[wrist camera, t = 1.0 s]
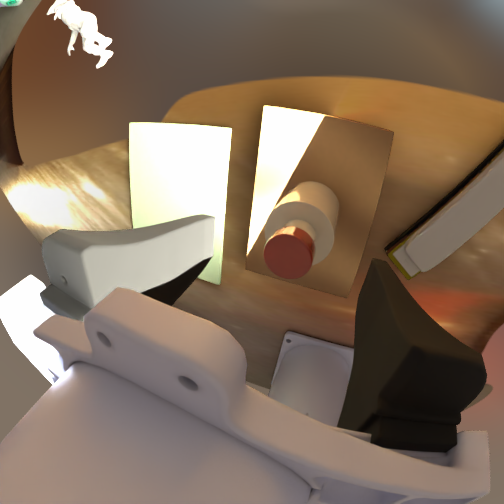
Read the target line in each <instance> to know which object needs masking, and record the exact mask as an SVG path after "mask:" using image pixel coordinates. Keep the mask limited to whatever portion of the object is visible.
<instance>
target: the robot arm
mask: <svg viewBox="0 0 504 504" xmlns="http://www.w3.org/2000/svg"><path fill="white" fill-rule="evenodd" d="M214 232H215V217H214V216H210V215H205V214H199V215H193V216H189V217H184V218H180V219H176V220H172V221H168V222H164V223H160V224H155V225H151V226H146V227H141V228H134V229H127V230H114V231H78V230H67V229H61V230H58V231H57V232H55V233H53V234H51V235H50V236H48V237H46V238H45V239H44V241H43V244H42V255H43V260H44V263H45V267H46V270H47V273H48V277H49V279H50V283H51V285H49V286H48V287H47V288H46V287H45V285H44V284H43V283H42V282H41V281H40V280H38V279H37V278H35V277H34V276H33V275H29V276H28V277H26V278H25V279H23V280H22V281H21V282H19V283H18V284H17V285H15V286H14V287H13V288H11V289H10V290H8V291H7V292H6V293H5V294H3V295H2V296H1V297H0V318H1V320H2V321H3V323H4V325H5V327H6V329H7V331H8V332H9V335H10V336H11V338H12V340H13V342H14V343H15V344H16V346H17V347H18V348H19V349H20V350H21V351H22V352H23V353H24V354H25V356H27V358H28V359H29V360H30V361H31V362H32V363H33V364H34V365H35V366H36V367H37V369H38V370H39V371H40V372H41V373H42V374H43V375H44V376H45V377H46V378H47V379H48V380H49V381H50V382H51V383H52V384H53V385H52V386H51V387H50V388H49V390H48V391H47V392H46V393H45V394H44V395H43V396H42V397H41V398H40V399H39V400H38V402H36V404H35V405H34V406H33V407H32V408H31V409H30V410H29V411H28V412H27V413H26V414H25V416H24V417H23V418H22V419H21V420H20V421H19V422H18V423H17V425H16V426H15V427H14V428H13V429H12V430H11V431H10V433H9V434H8V435H7V436H6V437H5V438H4V440H3V441H2V442H1V443H0V504H468V503H470V502H473V501H475V500H477V499H479V498H481V497H483V496H485V495H487V494H488V493H489V492H490V456H489V442H488V432H487V431H470V430H467V431H462V432H459V433H457V429H456V425H458V424H459V423H460V422H461V413H460V412H461V411H463V410H464V409H465V408H466V407H467V406H468V405H469V404H470V403H471V402H472V401H473V400H474V399H475V398H476V397H477V396H478V394H479V393H480V392H481V391H482V389H483V387H484V385H485V383H486V378H487V373H486V369H485V365H484V362H483V358H482V355H481V354H480V353H478V352H476V351H475V350H473V349H471V348H470V347H468V346H466V345H465V344H463V343H462V342H460V341H459V340H458V339H456V338H455V337H453V336H452V335H451V334H449V333H448V332H447V331H446V330H444V329H443V328H442V327H441V326H440V325H439V324H438V323H436V322H435V321H434V320H433V319H432V318H431V317H430V316H429V315H428V314H427V313H426V312H425V311H424V310H423V309H422V308H421V307H420V306H419V304H418V303H417V302H416V301H415V300H414V298H413V297H412V296H411V295H410V293H409V292H408V291H407V290H406V288H405V287H404V286H403V284H402V283H401V281H400V280H399V279H398V277H397V276H396V274H395V273H394V271H393V270H392V269H391V267H390V266H389V265H388V263H387V262H386V261H382V260H379V259H375V258H373V259H372V261H371V264H370V267H369V270H368V273H367V275H366V278H365V281H364V283H363V286H362V289H361V291H360V294H359V297H358V303H357V309H356V316H355V339H354V349H352V348H349V347H345V346H341V345H337V344H333V343H330V342H326V341H322V340H319V339H315V338H312V337H308V336H305V335H301V334H298V333H294V332H291V331H288V332H286V334H285V336H284V340H283V344H282V347H281V351H280V354H279V358H278V362H277V365H276V369H275V372H274V376H273V379H272V382H271V385H272V386H271V389H270V391H269V394H268V396H267V395H265V394H263V393H261V392H259V391H257V390H256V389H254V388H252V387H250V386H248V385H247V384H246V380H245V377H246V370H247V360H246V356H245V352H244V349H243V347H242V346H241V345H240V344H239V343H238V342H237V341H236V339H235V338H234V337H233V336H232V335H231V334H230V333H229V332H228V331H226V330H225V329H223V328H221V327H219V326H218V325H216V324H214V323H212V322H211V321H208V320H205V319H203V318H200V317H197V316H195V315H192V314H190V313H187V312H184V311H182V310H179V309H177V308H174V307H172V305H173V304H174V302H175V301H176V300H177V299H178V298H179V297H180V296H181V295H182V293H183V292H184V291H185V290H186V289H187V288H188V287H189V286H190V285H191V284H192V283H193V282H194V280H195V279H196V278H197V277H198V276H199V275H200V274H201V273H202V272H203V270H204V269H205V267H206V266H207V265H208V263H209V262H210V260H211V258H212V257H213V255H214ZM288 339H290V340H288ZM348 382H349V384H348ZM347 385H348V388H347ZM346 391H347V392H346Z"/></svg>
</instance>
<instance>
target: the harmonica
mask: <svg viewBox="0 0 504 504" xmlns="http://www.w3.org/2000/svg"><path fill="white" fill-rule="evenodd" d="M503 208H504V140H503V141H502V142H501V143H500V144H499V145H498V147H497V148H496V149H495V150H494V151H493V152H492V153H491V154H490V155H489V156H488V157H487V158H486V159H485V160H484V161H483V162H482V163H481V164H480V165H479V166H478V167H477V168H476V169H475V170H474V171H473V172H471V173H470V174H469V175H468V176H467V177H466V178H465V179H464V180H463V181H462V182H461V183H460V184H459V185H458V186H457V187H456V188H454V189H453V190H452V191H451V192H450V193H449V194H448V195H447V196H446V197H445V198H443V199H442V200H441V201H440V202H439V203H438V204H437V205H436V206H434V207H433V208H432V209H431V210H430V211H429V212H428V213H426V214H425V215H424V216H423V217H422V218H421V219H419V220H418V221H417V222H416V223H415V224H413V225H412V226H411V227H410V228H409V229H407V230H406V231H405V232H404V233H403V234H401V235H400V236H399V237H398V238H396V239H395V240H394V241H393V242H391V243H390V244H389V245H388V246H387V247H385V248H384V249H385V251H386V252H387V256H388V257H389V258H390V259H391V261H392V262H393V263H394V264H395V265H396V267H397V268H398V269H399V270H400V271H401V273H402V274H403V275H404V276H405V278H406V279H407V280H410V279H411V278H413V277H415V276H416V275H417V274H419V273H420V272H421V271H422V272H426V271H428V270H430V269H432V268H433V267H435V266H436V265H437V264H439V263H440V262H441V261H443V260H444V259H445V258H447V257H448V256H449V255H450V254H452V253H453V252H454V251H455V250H457V249H458V248H459V247H460V246H461V245H463V244H464V243H465V242H466V241H467V240H469V239H470V238H471V237H472V236H473V235H474V234H476V233H477V232H478V231H479V230H480V229H481V228H482V227H483V226H485V225H486V224H487V223H488V222H489V221H490V220H491V219H492V218H493V217H494V216H495V215H496V214H498V213H499V212H500V211H501V210H502V209H503Z"/></svg>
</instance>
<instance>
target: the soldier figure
mask: <svg viewBox="0 0 504 504" xmlns="http://www.w3.org/2000/svg"><path fill="white" fill-rule="evenodd" d="M56 12H57V13H56ZM51 13H56V14H55V17H54V20H55V19H56V18H57V16H58V17H59V19H60V18H61V19H62V20H63V22H64V23H65V24H66V25H68V28H69V29H71V30H72V34H71V39H70V42H69V43H70V44H69V46H68V54H69V55H70V51H71V50H73V51H74V48H73V44H74V43H75V41H76V37H77V35H78V32H80V33H81V36H83V37H82V42H83V50H85V51H86V52H88V53H93V54H94V55H99V56H101V59H100V61H99V63H98V64H97V65H96V68H100V67H102V66H103V65H104V64H105V63H106V61H107V60H108V58H110V57H111V56H112V54H113V52H112V51H109V50H106V49H105V48H106V47H107V46H108V45H110V44H111V42H112V39H110V38H106V37H104V36H103V35H101V34H100V33H98V32H97V21H96V17H95V16H94V15H93V14H92V13H89V12H84V11H81V9H80V7H77V6H76V5H75V4H74V1H73V0H70V1H66V0H56V1H55V3H54V4H53V5H52V6H51V7H50V9H49V11H48V13H47V15H49V14H51ZM95 41H96V42H98V43H99V46H98V45H96V44H94V42H95Z"/></svg>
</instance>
